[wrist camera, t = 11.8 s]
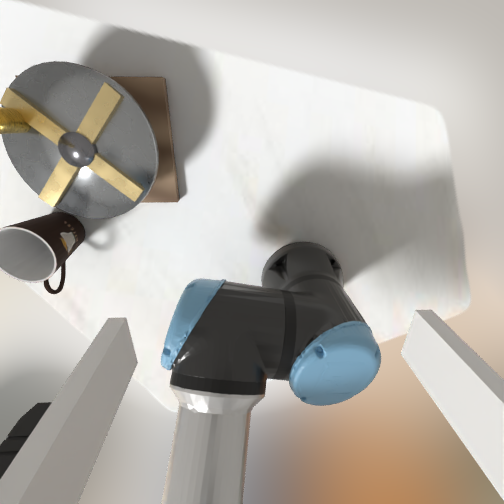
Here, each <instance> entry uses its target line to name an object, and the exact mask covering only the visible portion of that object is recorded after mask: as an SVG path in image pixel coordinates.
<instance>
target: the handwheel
mask: <svg viewBox="0 0 504 504" xmlns="http://www.w3.org/2000/svg"><path fill="white" fill-rule="evenodd" d="M0 104H2V107H0V134H2V138H3V142H4V145H5V148H6V151H7V153H8V156H9V158H10V160H11V162H12V164H13V165H14V167H15V168H16V170H17V172H18V173H19V175H20V176H21V177H22V178H23V180H24V181H25V182H26V183H27V184H28V185H29V186H30V187H31V189H32V190H33V191H35V192H36V193H37V194H38V195H39V198H40V199H42V200H43V201H45V202H46V203H48V204H49V205H51V206H52V207H57V208H59V209H61V210H63V211H65V212H67V213H70V214H73V215H76V216H80V217H85V218H93V219H104V218H111V217H115V216H119V215H121V214H124V213H126V212H128V211H129V210H131V209H133V208H134V207H135V206H136V205H138V204H139V203H140V202H141V201H142V200H143V199H144V198H145V197H146V196H147V195H148V193H149V192H150V190H151V189H152V187H153V184H154V182H155V180H156V176H157V172H158V165H159V152H158V145H157V141H156V137H155V133H154V131H153V128H152V125H151V123H150V121H149V119H148V117H147V115H146V114H145V112H144V111H143V109H142V108H141V106H140V105H139V104H138V102H137V101H136V100H135V99H134V97H133V96H132V95H131V94H130V93H129V92H128V91H127V90H126V89H125V88H123V87H122V86H121V85H120V84H118V83H117V82H116V81H114V80H113V79H111V78H110V77H108V76H106V75H105V74H102V73H100V72H98V71H96V70H94V69H91V68H88V67H85V66H82V65H79V64H75V63H69V62H55V61H54V62H46V63H41V64H38V65H35V66H32V67H31V68H29V69H27V70H25V71H24V72H22V73H21V74H20V75H19V76H17V77H16V79H15V80H14V81H13V82H12V83H11V84H10V86H9V88H6V91H5V93H4V95H3V97H2V99H1V102H0Z"/></svg>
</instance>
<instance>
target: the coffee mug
mask: <svg viewBox="0 0 504 504" xmlns="http://www.w3.org/2000/svg"><path fill="white" fill-rule="evenodd" d="M84 238H85V230H84V227H83V225H82V224H81V222H80V221H79V220H78V219H77V218H75V217H74V216H72V215H70V214H68V213H64V212H56V213H52V214H49V215H45V216H42V217H38V218H35V219H31V220H28V221H24V222H21V223H17V224H14V225H10V226H7V227H3V228H0V270H2V271H3V272H4V273H5V274H7V275H9V276H11V277H13V278H15V279H17V280H20V281H23V282H29V283H37V282H42V281H44V287H45V289H46V290H47V291H48V292H49V293H51V294H57V293H59V292H60V291H61V290H62V289H63V286H64V282H65V261H66V260H67V258H68V257H69V256H70V255H71V254H72V253H73V252H74V251H75V250H76V249H77V247H78V246H79V245H80V244H81V243H82V242H83V240H84ZM60 266H61V281H60V285H59V287H58V289H57V290H53V289H52V288H51V287H50V285H49V281H48V279H49V278H50V277H51V276H52V275H53V274H54V273H55V272H56V271H57V270H58V268H59V267H60Z"/></svg>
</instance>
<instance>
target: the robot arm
mask: <svg viewBox="0 0 504 504" xmlns="http://www.w3.org/2000/svg"><path fill="white" fill-rule="evenodd" d="M401 355H402V356H403V358H404V359H405V361H406V362H407V364H408V365H409V366H410V368H411V369H412V371H413V372H414V374H415V375H416V376H417V378H418V379H419V380H420V382H421V384H422V385H423V386H424V388H425V389H426V391H427V392H428V394H429V395H430V396H431V398H432V399H433V401H434V402H435V403H436V405H437V406H438V408H439V409H440V411H441V412H442V413H443V415H444V416H445V418H446V419H447V420H448V422H449V423H450V425H451V426H452V428H453V429H454V431H455V432H456V433H457V435H458V436H459V438H460V439H461V440H462V442H463V443H464V445H465V446H466V447H467V449H468V450H469V452H470V453H471V455H472V456H473V458H474V459H475V460H476V462H477V463H478V465H479V466H480V468H481V469H482V470H483V472H484V473H485V475H486V476H487V478H488V479H489V480H490V482H491V483H492V485H493V486H494V488H495V489H496V490H497V492H498V493H499V495H500V496H501V497H502V499H503V500H504V380H503V378H501V376H499V375H498V374H497V373H496V372H495V371H494V370H493V369H492V368H491V367H490V366H489V365H488V364H487V363H486V362H485V361H484V360H483V359H482V358H481V357H480V356H479V355H478V354H477V353H476V352H475V351H474V350H473V349H471V348H470V347H469V346H468V345H467V344H466V343H465V342H464V341H463V340H462V339H461V338H460V337H459V336H458V335H457V334H456V333H455V332H454V331H453V330H452V329H451V328H450V327H449V326H448V325H447V324H446V323H445V322H444V321H443V320H442V319H441V318H440V317H438V316H437V315H436V314H435V313H434V312H433V311H432V310H415V313H414V316H413V319H412V322H411V325H410V328H409V331H408V334H407V337H406V340H405V343H404V346H403V349H402V352H401ZM137 363H138V362H137V358H136V354H135V350H134V346H133V342H132V338H131V335H130V331H129V327H128V323H127V319H126V318H108V320H107V321H106V323H105V324H104V326H103V327H102V329H101V330H100V332H99V333H98V335H97V336H96V337H95V339H94V340H93V342H92V343H91V345H90V347H89V348H88V349H87V351H86V353H85V354H84V355H83V357H82V359H81V360H80V361H79V363H78V364H77V366H76V367H75V369H74V370H73V372H72V373H71V375H70V376H69V378H68V379H67V381H66V382H65V384H64V385H63V387H62V388H61V390H60V391H59V393H58V394H57V396H56V397H55V399H54V400H53V402H51V403H50V402H49V403H37V404H36V405H35V406H34V407H33V408H32V409H30V410H29V411H28V412H27V413H26V414H25V415H24V416H22V417H21V418H20V420H19V421H18V422H17V423H16V425H15V426H14V428H13V429H12V430H11V432H10V433H9V434H8V436H7V439H6V440H4V441H3V442H2V444H1V445H0V504H78V502H79V500H80V497H81V495H82V493H83V490H84V488H85V485H86V483H87V481H88V478H89V476H90V474H91V471H92V469H93V466H94V464H95V462H96V459H97V457H98V455H99V452H100V450H101V448H102V445H103V443H104V441H105V438H106V436H107V434H108V431H109V429H110V427H111V424H112V422H113V419H114V417H115V415H116V412H117V410H118V408H119V405H120V403H121V400H122V398H123V396H124V394H125V391H126V389H127V386H128V384H129V382H130V379H131V377H132V375H133V372H134V370H135V368H136V365H137ZM380 363H381V353H380V350H379V346H378V344H377V343H376V341H375V339H374V337H373V335H372V331H371V329H370V327H369V326H368V325H367V323H366V322H365V320H364V319H363V317H362V316H361V314H360V313H359V311H358V310H357V308H356V307H355V306H354V304H353V303H352V301H351V300H350V298H349V297H348V295H347V294H346V292H345V291H344V289H343V275H342V270H341V267H340V265H339V263H338V261H337V260H336V258H335V257H334V255H333V254H332V253H331V252H330V251H329V250H328V249H326V248H325V247H323V246H321V245H318V244H315V243H310V242H299V243H294V244H290V245H287V246H285V247H283V248H281V249H280V250H278V251H277V252H275V253H274V254H273V255H272V256H271V257H270V258H269V260H268V261H267V263H266V264H265V266H264V269H263V272H262V287H261V286H254V285H247V284H241V283H234V282H227V281H226V280H224V279H223V280H221V281H220V280H210V279H196V280H193V281H192V282H191V283H189V284H188V285H187V287H186V288H185V290H184V291H183V293H182V295H181V297H180V300H179V302H178V304H177V307H176V309H175V312H174V315H173V317H172V320H171V323H170V326H169V329H168V332H167V336H166V339H165V343H164V349H163V353H162V356H161V365H162V366H163V367H164V368H166V369H167V370H171V369H172V375H171V380H170V388H171V390H172V391H173V393H174V394H175V396H176V397H177V399H178V401H179V408H178V414H177V419H176V425H175V431H174V436H173V441H172V447H171V452H170V458H169V464H168V469H167V475H166V480H165V486H164V491H163V497H162V503H161V504H243V492H244V483H245V472H246V460H247V449H248V439H249V438H248V437H249V428H250V417H251V410H252V409H253V407H254V406H255V405H256V404H257V403H258V402H259V401H260V400H262V399H263V398H264V397H265V388H266V380H267V379H277V380H286V381H289V384H290V387H291V389H292V390H293V392H294V394H295V395H296V396H297V397H298V398H300V399H301V401H303V402H305V403H307V404H312V405H320V406H322V405H323V406H324V405H331V404H336V403H340V402H343V401H345V400H348V399H350V398H352V397H353V396H354V395H356V394H358V393H360V392H361V391H362V390H364V389H365V388H366V387H367V386H368V385H369V384H370V383H371V382H372V381H373V379H374V378H375V376H376V374H377V372H378V370H379V367H380Z"/></svg>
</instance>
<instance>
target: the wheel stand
mask: <svg viewBox="0 0 504 504" xmlns="http://www.w3.org/2000/svg"><path fill="white" fill-rule="evenodd" d="M16 77H17V76H16ZM110 78H111V79H113V80H114V81H116V82H117V83H118V84H120V85H121V86H122V87H123V88H125V89H126V90H127V91H128V92H129V93H130V94H131V95H132V96H133V97H134V99H135V100H136V101H137V102H138V104H139V105H140V106H141V108H142V109H143V111H144V112H145V114H146V115H147V117H148V119H149V121H150V123H151V125H152V128H153V131H154V133H155V137H156V141H157V145H158V152H159V165H158V172H157V176H156V180H155V182H154V184H153V187H152V189H151V190H150V192H149V193H148V195H147V196H146V197H145V198H144V199H143V200H142V201H141V202H178V201H179V191H178V182H177V174H176V165H175V157H174V148H173V140H172V131H171V123H170V114H169V105H168V97H167V88H166V80H165V78H163V77H110Z"/></svg>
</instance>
